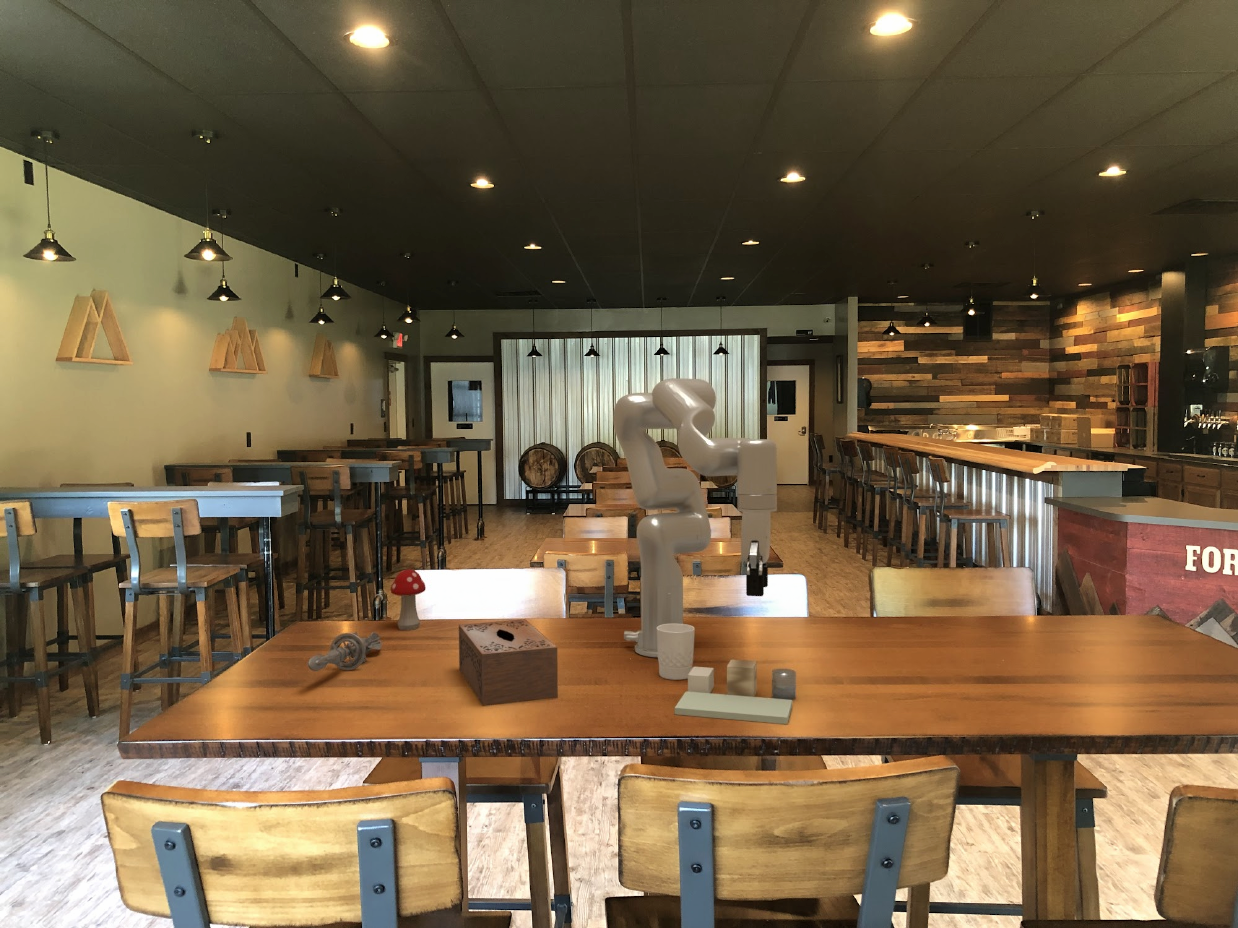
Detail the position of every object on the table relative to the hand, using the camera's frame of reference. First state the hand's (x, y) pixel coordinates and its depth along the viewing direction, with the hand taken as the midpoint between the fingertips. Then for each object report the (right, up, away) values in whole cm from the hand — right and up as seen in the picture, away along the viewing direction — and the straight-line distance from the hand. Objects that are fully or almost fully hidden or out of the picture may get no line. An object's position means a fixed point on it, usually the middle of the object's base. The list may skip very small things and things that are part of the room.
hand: (757, 591), depth 172 cm
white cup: (-15, -19, +12) cm, 27 cm away
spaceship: (-85, -20, +17) cm, 88 cm away
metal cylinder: (+5, -20, -3) cm, 21 cm away
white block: (-11, -20, +1) cm, 23 cm away
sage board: (-6, -20, -10) cm, 23 cm away
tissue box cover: (-50, -20, +7) cm, 54 cm away
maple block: (-3, -20, -1) cm, 20 cm away
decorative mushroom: (-81, -18, +55) cm, 99 cm away
